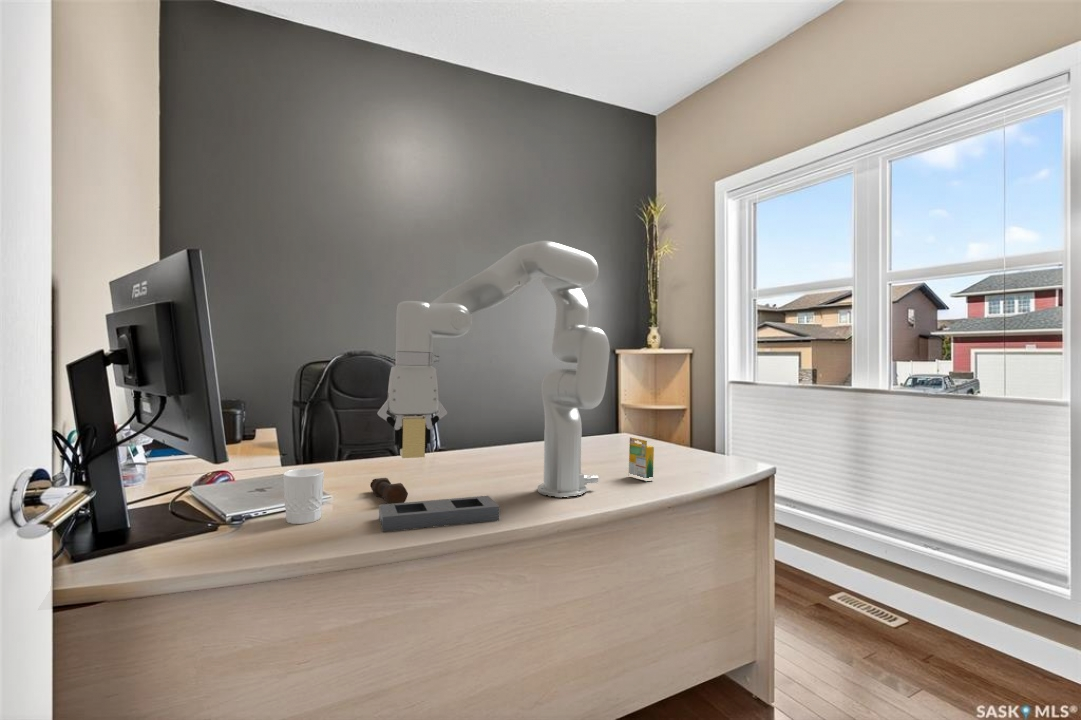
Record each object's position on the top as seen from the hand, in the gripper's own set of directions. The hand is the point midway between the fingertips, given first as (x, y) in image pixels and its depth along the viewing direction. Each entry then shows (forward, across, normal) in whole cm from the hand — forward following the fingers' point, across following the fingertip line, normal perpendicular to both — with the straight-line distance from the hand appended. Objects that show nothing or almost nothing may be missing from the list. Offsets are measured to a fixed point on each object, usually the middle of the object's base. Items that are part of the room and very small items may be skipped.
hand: (412, 446), depth 115 cm
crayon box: (+15, -67, -19) cm, 71 cm away
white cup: (+16, +21, -9) cm, 28 cm away
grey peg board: (+16, -6, 0) cm, 17 cm away
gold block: (+2, 0, 0) cm, 2 cm away
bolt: (+16, +3, -20) cm, 26 cm away
